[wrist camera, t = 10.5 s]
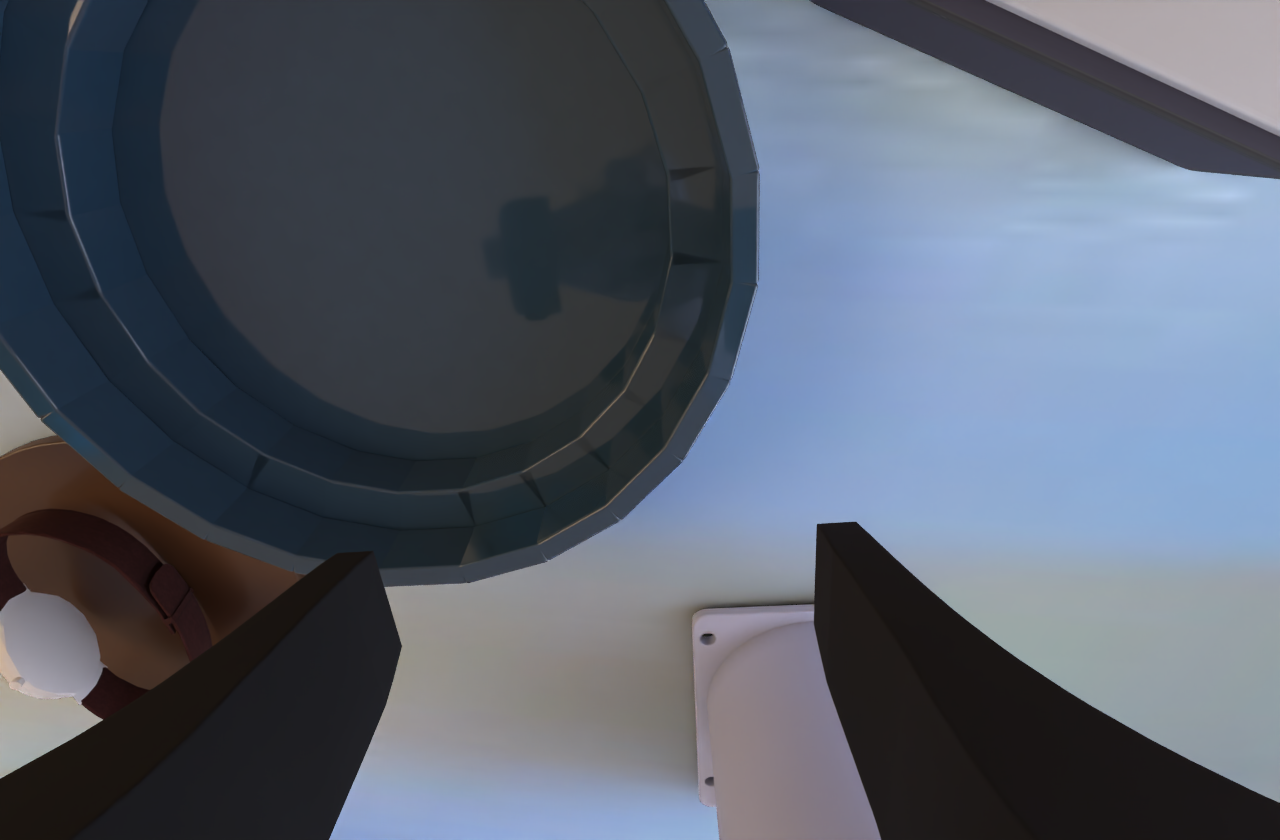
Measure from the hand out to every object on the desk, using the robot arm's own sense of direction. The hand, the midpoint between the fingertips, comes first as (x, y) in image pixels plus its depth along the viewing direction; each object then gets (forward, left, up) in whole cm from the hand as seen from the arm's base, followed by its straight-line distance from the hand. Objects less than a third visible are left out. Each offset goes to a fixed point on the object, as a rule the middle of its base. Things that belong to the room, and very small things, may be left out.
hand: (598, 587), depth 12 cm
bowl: (+5, +5, -9) cm, 12 cm away
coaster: (-6, +16, -9) cm, 20 cm away
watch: (-6, +16, -9) cm, 20 cm away
